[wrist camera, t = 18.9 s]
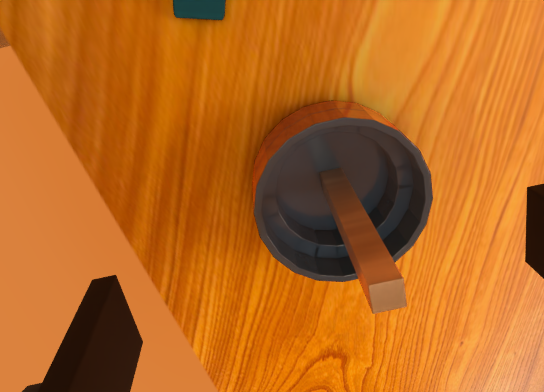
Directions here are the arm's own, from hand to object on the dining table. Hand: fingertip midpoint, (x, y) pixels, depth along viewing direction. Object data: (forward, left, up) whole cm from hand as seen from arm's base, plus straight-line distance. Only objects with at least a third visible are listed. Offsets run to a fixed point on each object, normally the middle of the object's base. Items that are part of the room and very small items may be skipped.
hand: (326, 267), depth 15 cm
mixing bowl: (+9, +4, -28) cm, 29 cm away
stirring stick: (+9, +4, -27) cm, 28 cm away
